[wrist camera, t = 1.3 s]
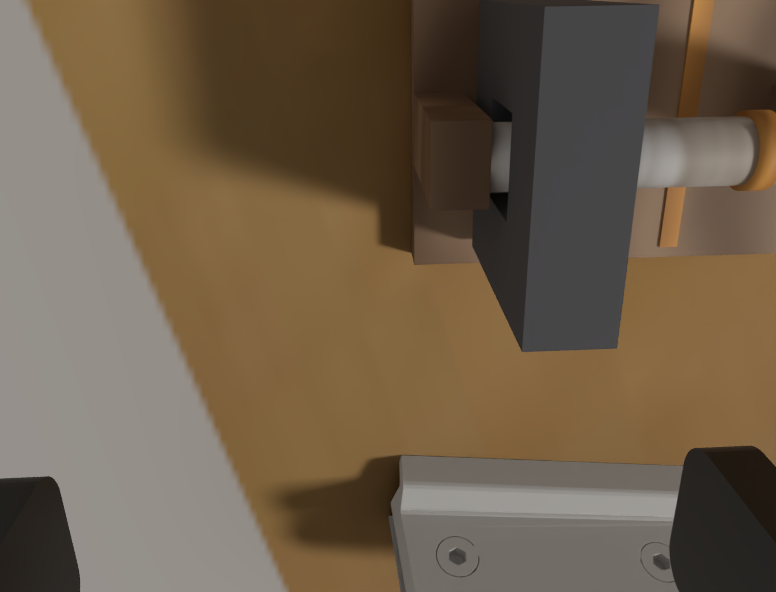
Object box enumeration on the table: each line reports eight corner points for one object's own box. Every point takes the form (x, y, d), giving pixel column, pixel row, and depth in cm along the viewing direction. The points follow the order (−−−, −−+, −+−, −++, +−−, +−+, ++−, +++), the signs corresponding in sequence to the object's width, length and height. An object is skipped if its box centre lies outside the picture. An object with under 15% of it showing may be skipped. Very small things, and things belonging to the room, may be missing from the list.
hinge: (696, 466, 40) (770, 657, 32) (665, 511, 43) (726, 694, 35) (393, 454, 38) (399, 651, 31) (385, 502, 41) (389, 690, 34)
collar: (557, -2, 28) (659, 4, 19) (539, 243, 32) (617, 348, 23) (480, -1, 28) (544, 6, 18) (471, 245, 32) (521, 351, 22)
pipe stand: (822, -34, 30) (988, -41, 22) (766, 242, 34) (886, 316, 27) (411, -27, 29) (433, -32, 21) (411, 253, 34) (430, 332, 26)
